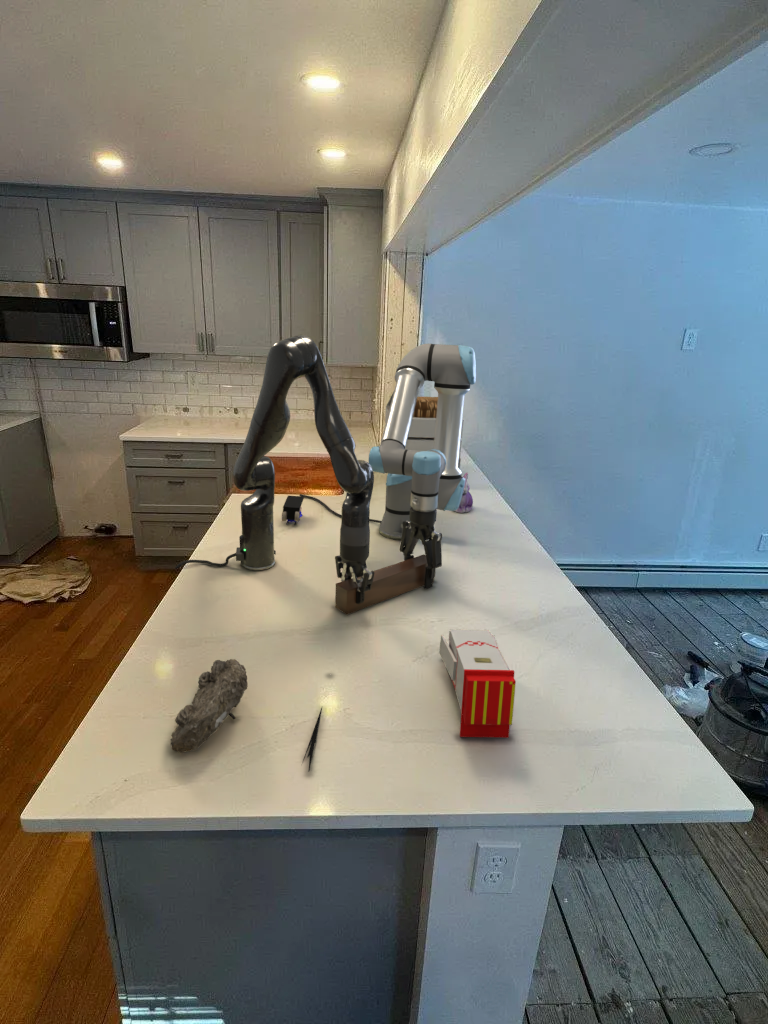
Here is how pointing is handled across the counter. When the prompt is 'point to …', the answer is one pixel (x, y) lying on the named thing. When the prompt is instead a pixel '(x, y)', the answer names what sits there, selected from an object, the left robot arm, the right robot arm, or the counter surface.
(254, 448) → the left robot arm
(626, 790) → the counter surface
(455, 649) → the toy
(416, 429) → the grey slatted crate
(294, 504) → the figurine character
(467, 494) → the figurine
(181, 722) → the fossil
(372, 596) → the walnut beam
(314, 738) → the feather
